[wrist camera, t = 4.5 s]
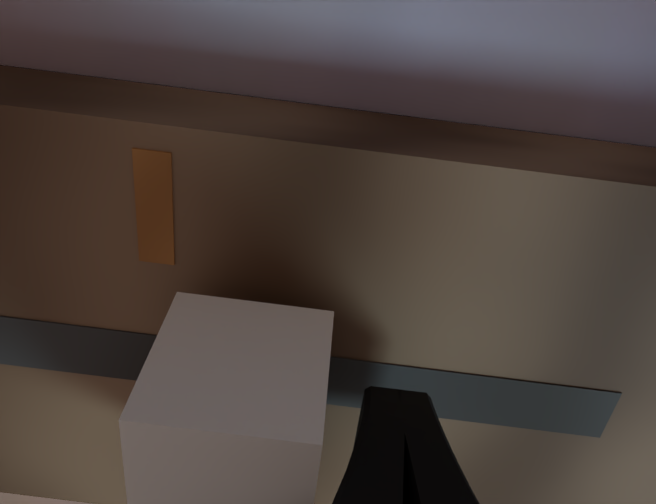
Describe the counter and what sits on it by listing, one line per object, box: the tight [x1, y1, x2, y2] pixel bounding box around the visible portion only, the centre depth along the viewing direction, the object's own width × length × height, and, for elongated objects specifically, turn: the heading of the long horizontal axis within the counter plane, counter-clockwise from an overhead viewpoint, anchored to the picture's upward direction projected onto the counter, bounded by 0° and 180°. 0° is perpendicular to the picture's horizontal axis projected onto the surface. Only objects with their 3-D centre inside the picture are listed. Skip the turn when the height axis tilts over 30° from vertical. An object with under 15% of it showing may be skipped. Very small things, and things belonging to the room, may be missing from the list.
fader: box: [119, 292, 334, 504], centre depth 12 cm, size 3×5×4 cm, turn 174°
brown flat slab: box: [0, 65, 656, 504], centre depth 15 cm, size 20×11×2 cm, turn 84°
